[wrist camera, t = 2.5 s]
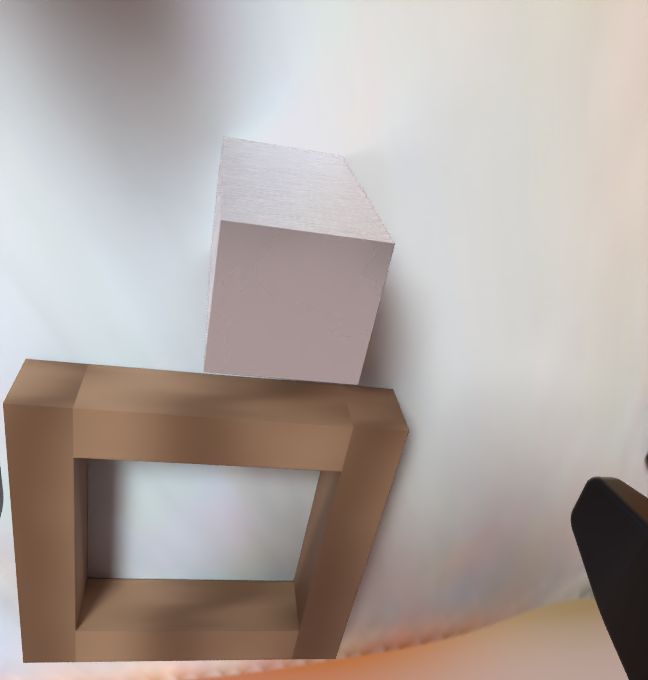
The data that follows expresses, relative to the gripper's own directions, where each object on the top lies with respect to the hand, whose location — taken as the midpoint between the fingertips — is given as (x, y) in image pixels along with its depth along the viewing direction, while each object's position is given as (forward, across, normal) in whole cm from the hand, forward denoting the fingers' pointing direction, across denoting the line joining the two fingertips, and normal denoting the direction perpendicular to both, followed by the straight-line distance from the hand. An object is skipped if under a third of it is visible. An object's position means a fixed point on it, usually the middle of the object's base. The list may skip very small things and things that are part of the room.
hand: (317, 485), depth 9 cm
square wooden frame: (+12, +1, +13) cm, 17 cm away
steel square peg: (+12, 0, 0) cm, 12 cm away
